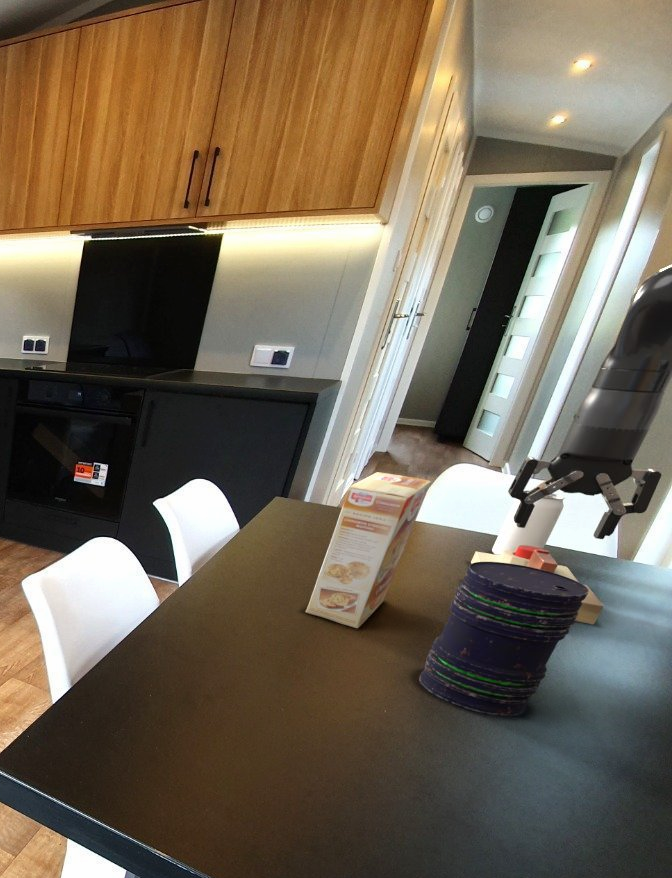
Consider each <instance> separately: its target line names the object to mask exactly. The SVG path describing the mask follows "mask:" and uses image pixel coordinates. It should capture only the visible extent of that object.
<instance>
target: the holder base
mask: <svg viewBox="0 0 672 878" xmlns="http://www.w3.org/2000/svg"><path fill="white" fill-rule="evenodd" d="M466 575H467V573H466V574H465V576H466ZM582 584H583V583H582ZM583 585H584V586H586V587H587V588H588V589H589V592H588V594H587V596H586V598H585V599H584V600H582V601H581V602H582V605H581V607H580V609H579V611H578V616H577V618H576V619H575V621H574V622H579V623H583V624H589V625H595V623H596V622H597V619H598V618H599V616H600V614H601V612H602V611H603V609H604V604H602V602H601V601H600V600H599V599H598V597H597V596H596V595H595V593H594V592H593V591H592V590H591V588H590V587H589V586H588V584H583Z"/></svg>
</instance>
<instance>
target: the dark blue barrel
mask: <svg viewBox="0 0 672 878" xmlns="http://www.w3.org/2000/svg"><path fill="white" fill-rule="evenodd" d="M466 574H467V575H466ZM466 574H465V576H464V577H463V578H462V581H461V583H460V584H459V585H458V587H457V589H456V592H455V594H454V598H453V600H452V601H451V603H450V608H449V610H450V614H449V616H448V619H447V621H446V623H445V625H444V628H443V629H442V632H441V634H440V635H438V636H437V637H436V638H435V640H434V641H433V642H432V646H431V648H430V650H429V651H428V654H427V656H426V659H425V660H426V662H425V664H424V666H423V668H424V669H423V670H422V671H421V672H420V675H419V677H418V680H419V683H420V685H422V686H423V687H424V689H425V690H427V691H428V692H430V693H431V694H433V695H434V696H436V697H438V698H440V699H442V700H443V701H446V702H448V703H450V704H453V705H456V706H458V707H461V708H464V709H467V710H470V711H473V712H478V713H483V714H487V715H493V716H499V717H500V716H501V717H504V716H505V717H512V716H518V715H521V714H524V712H525V710H526V708H527V702H529V701H530V700H531V699H532V697H533V695H535V694H536V693H537V691H538V689H539V687H540V685H541V684H542V683H541V682H542V680H543V679H545V678H546V673H547V671H548V669H547V666H546V665H547V663H549V660H550V658H551V656H552V654H553V653H554V651H555V649H556V647H557V645H558V643H559V642H560V641H562V640H564V639H565V637H566V636H567V635H568V634H569V633H570V628H571V626H573V624H575V622H576V621H575V619H576V618H577V616H578V611H579V609H580V607H581V605H582V602H581V601H582V600H584V599H585V598H586V596H587V594H588V592H589V589H588V588H587V587H586V586H584V585H585V584H584V585H583V583H581V582H579V581H578V580H577V581H578V582H577V581H575V580H573V579H570V578H568V577H565V576H562V575H559V574H556V573H552V572H549V571H545V570H541V569H537V568H532V567H527V566H522V565H516V564H510V563H501V562H475V563H472V564H471V563H470V564H469V566H468V567H467V570H466Z"/></svg>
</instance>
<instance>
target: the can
mask: <svg viewBox="0 0 672 878" xmlns="http://www.w3.org/2000/svg"><path fill="white" fill-rule="evenodd" d="M524 491H525V492H529V491H530V490H524ZM564 500H565V496H563V495H560V494H556V493H552V494H550V495H547V496H545V497H543V498H542V499H540V500H538V501H536V502H534V503H533V504H534V505H535V506H534V509H533V511H532V513H531V515H530V517H529V520H528V522H527V524H526V526H525V528H520V527H517V523H515V522H514V515H515V513H516V511H517V509H518V506H519V504H520V500H518V499H516V498H514V501H513V503H512V505H511V507H510V509H509V512H508V513H507V515H506V518H505V520H504V522H503V525H502V527H501V529H500V531H499V533H498V535H497V537H496V540H495V542H494V544H493V546H492V549H491V551H492V554H494V555H500V556H501V554H502V552H503V551H505V550H517V548H518V546H521V545H525V546H533V547H538V548H541V549H545V546H546V545H547V542H548V540H549V538H550V536H551V534H552V532H553V530H554V529H555V526H556V524H557V522H558V520H559V518H560V517H561V514H562V511H563V509H564V508H565V507H564Z"/></svg>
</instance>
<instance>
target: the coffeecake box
mask: <svg viewBox="0 0 672 878" xmlns="http://www.w3.org/2000/svg"><path fill="white" fill-rule="evenodd" d="M431 484H432V480H429V479H424V478H420V477H419V478H418V477H412V476H406V475H401V474H400V475H399V474H394V473H393V474H392V473H386V472H380V471H376V472H375V473H372V474H371V475H369V476H367V477H365V478H364V479H361V480H360V481H358V482H356V483H354V484H352V485H350V486H348V490H347V493H346V496H345V499H344V502H343V505H342V507H341V510H340V513H339V516H338V519H337V521H336V525H335V527H334V530H333V533H332V537H331V539H330V542H329V546H328V547H327V551H326V554H325V556H324V559H323V561H322V565H321V568H320V570H319V572H318V575H317V579H316V582H315V585H314V588H313V591H312V593H311V596H310V599H309V603H308V605H307V607H306V610H305V613H306V614H309V615H313V616H317V617H319V618H322V619H326V620H329V621H333V622H336V623H339V624H341V625H345V626H347V627H348V626H349V627H352V628H355V629H359V628H360V627H361V626H362V625H363V624H364V623H365V622H366V621H367V620H368V619H369V617H371V615H372V614H373V613H374V612H375V611H376V610H377V609H378V608H379V607H380V605H382V603H383V602H384V601H385V598H386V595H387V593H388V590H389V589H390V588H389V587H390V585H391V583H392V580H393V578H394V575H395V572H396V570H397V568H398V565H399V563H400V560H401V557H402V556H403V553H404V550H405V548H406V545H407V542H408V540H409V537H410V535H411V533H412V530H413V529H414V525H415V523H416V521H417V519H418V516H419V513H420V510H421V508H422V505H423V503H424V501H425V498H426V496H427V493H428V491H429V488H430V486H431Z"/></svg>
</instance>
